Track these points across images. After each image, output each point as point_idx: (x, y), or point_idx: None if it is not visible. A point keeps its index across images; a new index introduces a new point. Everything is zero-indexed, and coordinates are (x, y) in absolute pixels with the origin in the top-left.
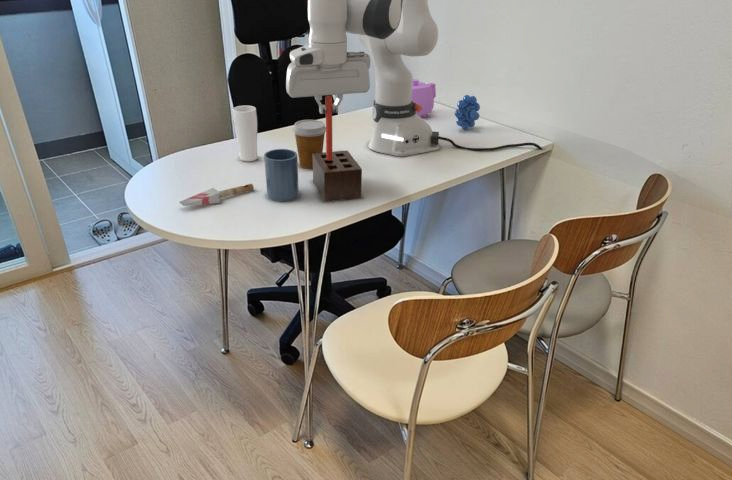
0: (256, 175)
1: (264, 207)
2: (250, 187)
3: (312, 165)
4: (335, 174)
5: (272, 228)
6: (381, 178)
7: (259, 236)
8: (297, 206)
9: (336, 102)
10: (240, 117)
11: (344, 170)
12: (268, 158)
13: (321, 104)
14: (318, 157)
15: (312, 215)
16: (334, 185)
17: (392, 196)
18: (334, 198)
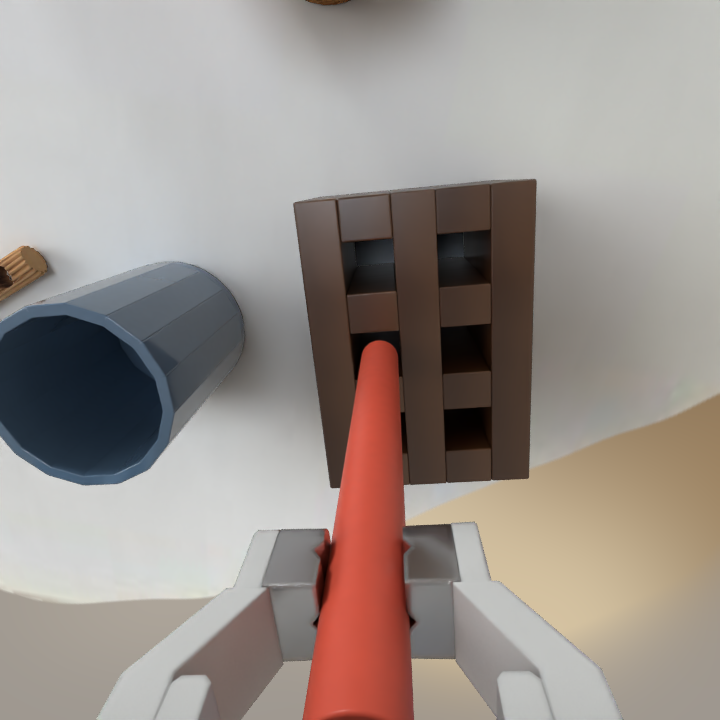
0: (31, 67)
1: None
2: (27, 279)
3: (330, 1)
4: None
5: (159, 559)
6: (666, 213)
7: (126, 593)
8: (238, 433)
9: (480, 662)
10: None
11: (435, 481)
12: (14, 446)
13: (250, 698)
14: (324, 281)
15: (288, 505)
16: None
17: (628, 413)
18: None
